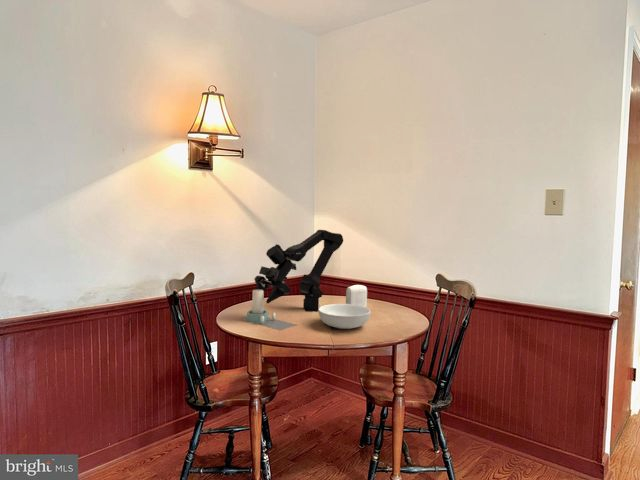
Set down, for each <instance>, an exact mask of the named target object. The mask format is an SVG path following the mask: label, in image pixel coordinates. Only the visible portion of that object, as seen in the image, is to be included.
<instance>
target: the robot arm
mask: <svg viewBox="0 0 640 480" xmlns="http://www.w3.org/2000/svg"><path fill="white" fill-rule="evenodd" d="M322 241H323V249H322V250H321V251H320V254H319V256H318V258H317V259H316V261H315V263H314V265H313V267H312V269H311V270H310V272H309V274H303V276H302V277H301V280H300V281H299V286H298V287H299V290H300V292H301V295H302V296H303V297H304V298H303V305H302V306H303V309H304V311H305V312H319V311H318V309H319V308H320V306H319V303H320V302H319V301H320V300H319V299H320V298H322V297H323V291H322V290H321V289H320V285H321V282H320V281H321V280H320V279H321V276H322V274H323V273H324V271H325V269H326V267H327V265H328V263H329V262H330V259H331V258H332V255H333V254H334V252H336V251H337V250H339V249H340V247H341V246H342V245H343V242H344V237H343V235H342V234H341V233H335V232H331V231H328V230H325V229H317V230H316V232H314V233H313V234H311V235H310V236H309V237H307V238H305V239H304V240H302V242H300V243H297V244H294V245H291V246H289V247H287V248H286V249H285V250H283V248H282V247H281V245H280V244H277V243H276V244H275V245H274V246H272V247H269V248H268V249H267V250H266V253H265V254H266V257H267V258H268V259H269V260H271V262H272V263H273V264H274V265H277V266H276V267H273V266H271V267H266V266H262V265H261V267H260V270H259V275H256V276H255V278H253V280H254V283H255V285H256V288H255V290H257V289H260V290H264V293H265V292H266V291H267V290H268V288H269V287H272V291H271V292H270V293H269V295H268V297H267V299H266V301H265V303H266V304H269V303H271V302H273V301H275V300H277V299H279V298H281V297H284V296H286V295H289V294H290V292H291V287H290V286H289V285H288V284H287V283H286V282H285V281H287V279H288V277H287V276H288V275H289V274H290V272H291V270H293V271H297V264H296V263H297V262H298V263H299V262H301V261H302V260H303V259H304V257H306V255H307V252H308V251H310V250H311V249H312V248H314V247H315V246H317V245H318V244H319V243H321V242H322ZM293 262H296V263H293ZM284 280H285V281H284Z"/></svg>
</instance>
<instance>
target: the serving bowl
mask: <svg viewBox="0 0 640 480" xmlns="http://www.w3.org/2000/svg"><path fill="white" fill-rule="evenodd" d="M317 312H318V316H319V318H320V320H321V321H322V322H323V323H324V324H325V325H327V326H329V327H332V328H336V329H340V330H351V329H354V328H355V329H356V328H359V327H362V326H363V325H365V324H366V323H368V321H369V319H370V317H371V310H370V308H368V307H367V306H366V307H363V306H358V305H351V304H346V303H332V304H331V303H330V304H325V305H321V306H319V309H318V311H317Z"/></svg>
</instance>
